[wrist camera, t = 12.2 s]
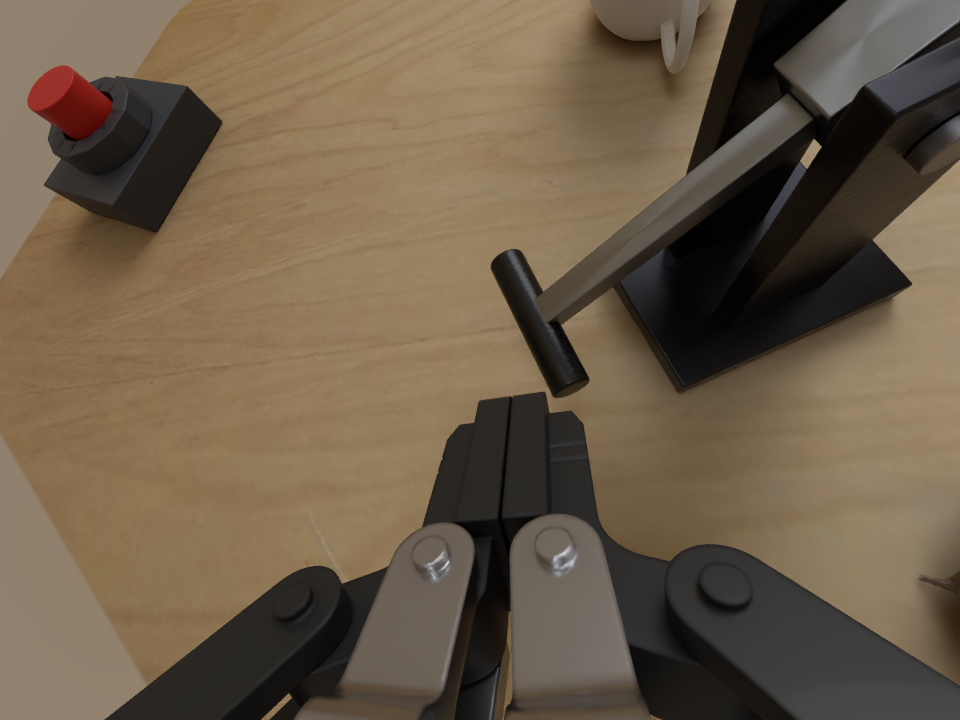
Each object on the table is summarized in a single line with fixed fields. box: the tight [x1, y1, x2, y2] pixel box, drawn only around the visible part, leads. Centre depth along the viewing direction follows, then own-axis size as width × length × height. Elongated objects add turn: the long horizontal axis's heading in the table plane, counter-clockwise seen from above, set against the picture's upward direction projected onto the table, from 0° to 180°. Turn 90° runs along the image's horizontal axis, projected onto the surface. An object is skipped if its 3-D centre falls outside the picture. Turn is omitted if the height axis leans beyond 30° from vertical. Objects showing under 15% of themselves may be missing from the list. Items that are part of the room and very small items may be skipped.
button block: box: [44, 76, 222, 232], centre depth 32 cm, size 10×8×5 cm
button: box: [27, 65, 113, 141], centre depth 29 cm, size 4×4×2 cm
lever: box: [491, 0, 960, 398], centre depth 14 cm, size 13×6×2 cm, turn 112°
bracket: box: [614, 0, 960, 393], centre depth 15 cm, size 10×8×13 cm
